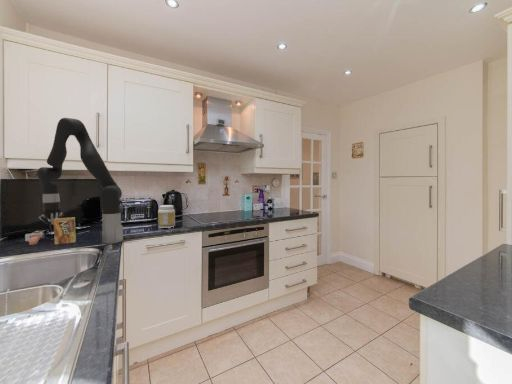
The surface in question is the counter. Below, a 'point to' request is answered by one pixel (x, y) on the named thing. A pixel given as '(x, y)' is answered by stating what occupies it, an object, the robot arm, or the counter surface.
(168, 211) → the supplement tub
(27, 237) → the steel keeper
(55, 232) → the candy box
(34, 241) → the link
